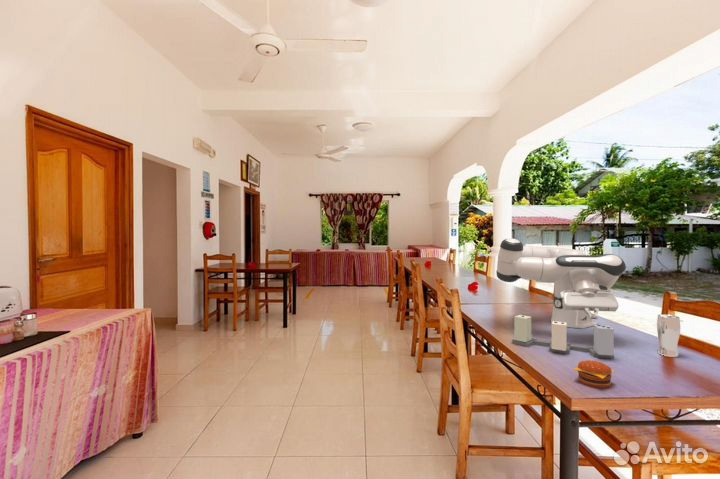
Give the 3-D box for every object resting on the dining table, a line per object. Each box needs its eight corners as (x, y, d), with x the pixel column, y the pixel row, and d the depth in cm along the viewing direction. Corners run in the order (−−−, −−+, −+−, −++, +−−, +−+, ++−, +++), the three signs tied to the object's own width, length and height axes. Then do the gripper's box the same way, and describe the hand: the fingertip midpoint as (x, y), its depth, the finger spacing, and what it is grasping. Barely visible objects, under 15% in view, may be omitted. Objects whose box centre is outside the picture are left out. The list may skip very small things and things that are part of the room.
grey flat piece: (515, 338, 165) (515, 334, 165) (612, 351, 145) (612, 348, 145) (510, 345, 155) (510, 341, 155) (614, 360, 135) (614, 356, 135)
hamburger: (605, 391, 110) (605, 369, 110) (571, 381, 118) (571, 361, 118) (617, 383, 116) (617, 362, 116) (584, 374, 124) (584, 354, 123)
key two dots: (552, 345, 148) (552, 320, 148) (566, 347, 146) (566, 321, 145) (551, 348, 144) (551, 323, 144) (566, 350, 141) (566, 324, 141)
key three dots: (593, 350, 142) (593, 324, 142) (608, 351, 141) (608, 324, 140) (598, 354, 137) (598, 327, 137) (613, 355, 136) (613, 328, 135)
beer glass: (684, 358, 137) (685, 318, 137) (663, 357, 139) (663, 318, 138) (672, 352, 144) (673, 314, 144) (652, 351, 145) (653, 313, 145)
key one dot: (519, 337, 160) (519, 314, 160) (531, 339, 156) (531, 316, 156) (514, 339, 157) (514, 315, 156) (525, 342, 153) (525, 317, 152)
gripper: (560, 286, 160) (567, 313, 150) (614, 287, 154) (624, 315, 145) (558, 294, 164) (564, 321, 155) (609, 295, 159) (619, 323, 149)
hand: (593, 318), depth 150 cm, fingers closed
